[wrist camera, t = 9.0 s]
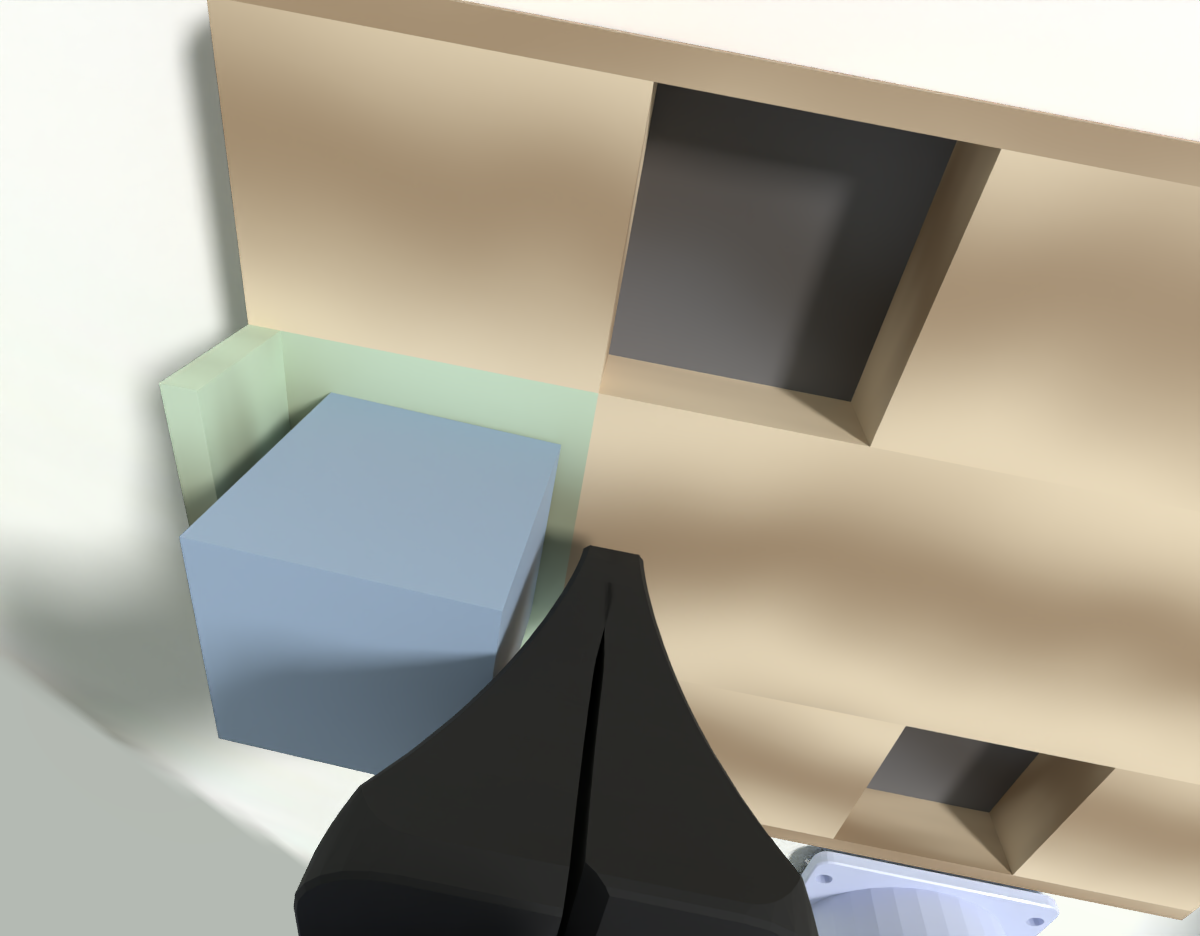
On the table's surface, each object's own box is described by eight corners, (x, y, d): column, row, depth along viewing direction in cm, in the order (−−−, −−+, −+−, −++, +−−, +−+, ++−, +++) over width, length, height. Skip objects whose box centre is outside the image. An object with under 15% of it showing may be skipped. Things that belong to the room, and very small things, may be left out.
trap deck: (1142, 848, 21) (1241, 1029, 17) (332, 685, 21) (253, 828, 17) (1802, 258, 11) (2382, 376, 7) (274, -37, 11) (62, -70, 7)
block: (531, 612, 16) (474, 797, 12) (336, 567, 16) (218, 737, 12) (561, 444, 13) (502, 610, 9) (331, 392, 13) (178, 537, 9)
